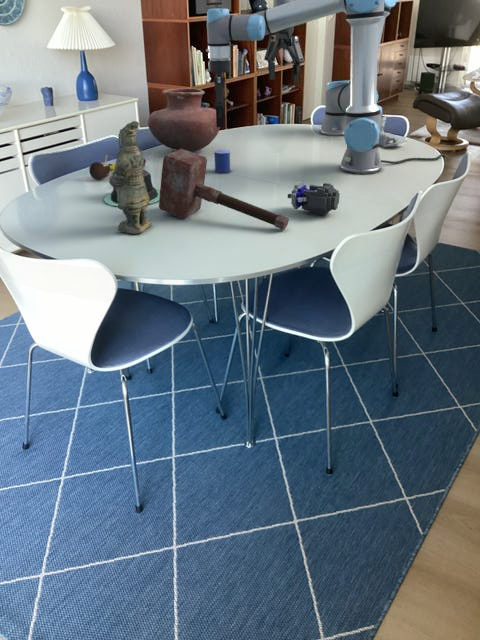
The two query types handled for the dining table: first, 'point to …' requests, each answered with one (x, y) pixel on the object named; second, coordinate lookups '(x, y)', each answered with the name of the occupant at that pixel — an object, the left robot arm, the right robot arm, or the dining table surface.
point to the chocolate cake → (152, 192)
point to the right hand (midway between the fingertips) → (220, 123)
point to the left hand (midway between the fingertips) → (283, 81)
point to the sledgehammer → (200, 190)
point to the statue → (131, 182)
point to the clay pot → (184, 121)
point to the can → (222, 161)
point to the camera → (387, 136)
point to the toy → (315, 198)
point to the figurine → (102, 169)
